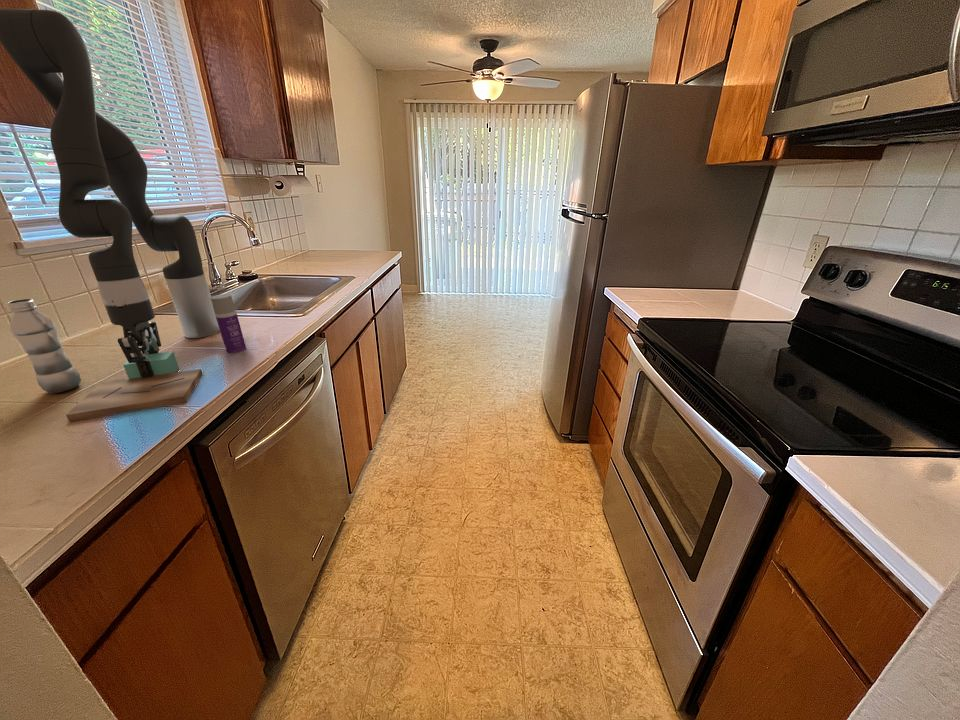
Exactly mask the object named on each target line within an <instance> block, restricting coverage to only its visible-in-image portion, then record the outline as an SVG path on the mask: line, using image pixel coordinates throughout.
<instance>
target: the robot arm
mask: <svg viewBox="0 0 960 720" xmlns="http://www.w3.org/2000/svg"><path fill="white" fill-rule="evenodd" d="M0 44H1V45H2V47H3V49H4V50H5V52H6V53H7V54H8V55H9V57H10V58H11V59H12V61H13V62H14V63H15V65H17V66H18V68H19V69H20V70H21V72H22V73H23V75H24V76H26V78H27V79H28V80H29V82H31V84H32V85H33V86H34V88H36V90H37V91H38V93H40V95H42V97H43V98H44V100H45V101H47V103H48V104H49V105H50V107H51V108H52V109H53V111H54V112H55V114H54V118H53V120H52V123H51V127H50V134H49V135H50V143H51V144H50V145H51V148H52V151H53V155H54V159H55V162H56V165H57V168H58V172H59V181H60V182H59V183H60V184H59V187H60V189H59V199H58V200H59V201H58V217H59V222H60V223H61V225H62V227H63V228H64V229H65V230H66V231H67V232H68V233H69V234H70V235H72V236H74V237H76V238H82V239H83V238H84V239H86V238H89V239H91V238H108V237H109V238H111V237H112V238H113V241H112V243H111V245H110V246H109V247H105V248H100V249H97V250H93V251H90V252H89V254H88V261H89V264H90V266H91V270H92V272H93V274H94V278H95V280H96V282H97V287H98V290H99V294H100V298H101V300H102V302H103V305H104V307H105V311H106V313H107V315H108V318H109V320H110V323H111V324H112V325H115V326H121V327H122V333H123V337H120V338H117V342H118V345H119V347H120V348H121V350H122V352H123V354H124V356H125V359H126V361H128V362H129V363H136V365H137V367H138V370H139V373H140V375H141V377H142V378H148V377H152V376H153V375H154V373H153V370H152V367H151V364H150V362H149V361H148V354H155V353H160V347H162V341H161V338H160V334H159V329H158V326H157V322H156V321H152V320H154V319H155V317H156V314H155V312H154V309H153V306H152V302H151V300H150V297H149V294H148V291H147V287H146V286H145V284H144V281H143V280H142V277H141V275H140V272H139V269H138V266H137V262H136V260H135V257H134V256H135V255H134V250H133V249H134V248H133V225H134V227H135V228H136V230H137V232H138V233H139V235H140V237H141V238H142V240H143V241H144V242H145V244H146V245H147V246H148V247H149V249H151V250H154V251H155V252H163V253H164V252H166V253H168V252H178V259H177V260H176V261H175V262H172V263H170V264H167V265H165V266H163V268H162V274H163V277H164V279H165V282H166V285H167V288H168V290H169V294H170V297H171V300H172V302H173V306H174V309H175V310H176V311H175V312H176V314H177V317H178V320H179V323H180V326H181V329H182V332H183V335H184V337H185V338H188V339H199V338H205V337H209V336H213V335H215V334H218V333H219V332H220V329H219V326H218V323H217V320H216V316H215V312H214V309H213V305H212V301H211V297H212V295H211V291H210V288H209V285H208V283H207V279H206V276H205V275H206V274H205V272H204V268H203V267H204V266H203V261H202V257H201V253H200V248H199V245H198V240H197V236H196V232H195V229H194V226H193V224H192V222H191V221H190V220H189V218H188V217H186V216H183V215H179V214H177V215H176V214H175V215H174V214H173V215H156V214H154V212H153V211H152V210H151V208H150V207H149V205H148V203H147V201H146V191H147V190H146V189H147V185H148V184H147V183H148V167H147V165H146V164H147V163H146V162H145V160H144V159H143V157H142V155H141V153H140V152H139V150H138V148H137V147H136V145H135V143H134V142H133V140H132V139H131V137H130V136H129V135H128V134H127V133H126V132H125V131H124V130H123V129H122V128H121V127H119V126H118V125H116V124H115V123H114V122H112V121H111V120H110V119H109V118H107V117H105V116H104V115H103V114H102V113H101V112H99V111H97V110H96V101H95V89H94V79H93V69H92V62H91V58H90V54H89V50H88V47H87V44H86V42H85V40H84V38H83V36H82V34H81V32H80V31H79V29H78V28H77V27H76V25H75V24H74V23H73V22H72V21H71V20H70V19H69V18H68V16H66V15H64V13H61V12H59V11H58V10H50V9H41V8H40V9H39V8H38V9H35V8H30V9H29V8H0ZM59 73H60V74H62V77H61V76H60V74H59ZM107 187H109V188H110V189H111V190H112V192H113V193H114V194H115V196H116V198H117V199H118V200H117V199H109V198H107V199H105V198H104V199H86V196H87V195H88V194H89V193H91V192H93V191H97V190H102V189H106V188H107Z"/></svg>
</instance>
